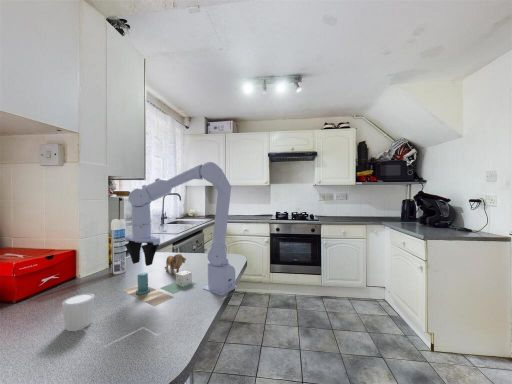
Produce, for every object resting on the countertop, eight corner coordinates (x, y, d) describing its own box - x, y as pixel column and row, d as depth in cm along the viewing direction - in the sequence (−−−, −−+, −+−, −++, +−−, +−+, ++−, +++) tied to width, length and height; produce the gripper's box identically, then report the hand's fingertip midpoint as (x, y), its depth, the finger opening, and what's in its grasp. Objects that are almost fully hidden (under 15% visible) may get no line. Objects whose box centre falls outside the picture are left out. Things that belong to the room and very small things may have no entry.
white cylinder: (90, 315, 67) (89, 290, 67) (99, 323, 63) (98, 297, 63) (59, 326, 62) (58, 299, 62) (66, 336, 58) (65, 307, 57)
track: (174, 298, 77) (174, 297, 77) (154, 306, 71) (154, 305, 71) (141, 284, 89) (141, 283, 89) (121, 291, 83) (121, 290, 83)
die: (192, 283, 88) (191, 272, 88) (182, 286, 85) (182, 275, 85) (185, 280, 91) (184, 270, 91) (175, 284, 88) (175, 273, 87)
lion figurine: (188, 275, 98) (187, 253, 97) (176, 279, 94) (175, 256, 93) (170, 267, 107) (169, 247, 107) (158, 270, 104) (158, 250, 103)
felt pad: (197, 284, 88) (197, 283, 88) (173, 294, 80) (173, 293, 80) (183, 279, 93) (183, 279, 93) (159, 288, 84) (159, 288, 84)
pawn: (152, 291, 82) (152, 273, 82) (140, 295, 78) (139, 277, 78) (145, 288, 85) (145, 271, 85) (133, 292, 81) (133, 275, 81)
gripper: (166, 223, 82) (167, 262, 82) (136, 221, 88) (137, 258, 88) (149, 226, 76) (150, 269, 76) (118, 224, 81) (119, 264, 82)
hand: (142, 263), depth 81 cm, fingers open, 6 cm apart
